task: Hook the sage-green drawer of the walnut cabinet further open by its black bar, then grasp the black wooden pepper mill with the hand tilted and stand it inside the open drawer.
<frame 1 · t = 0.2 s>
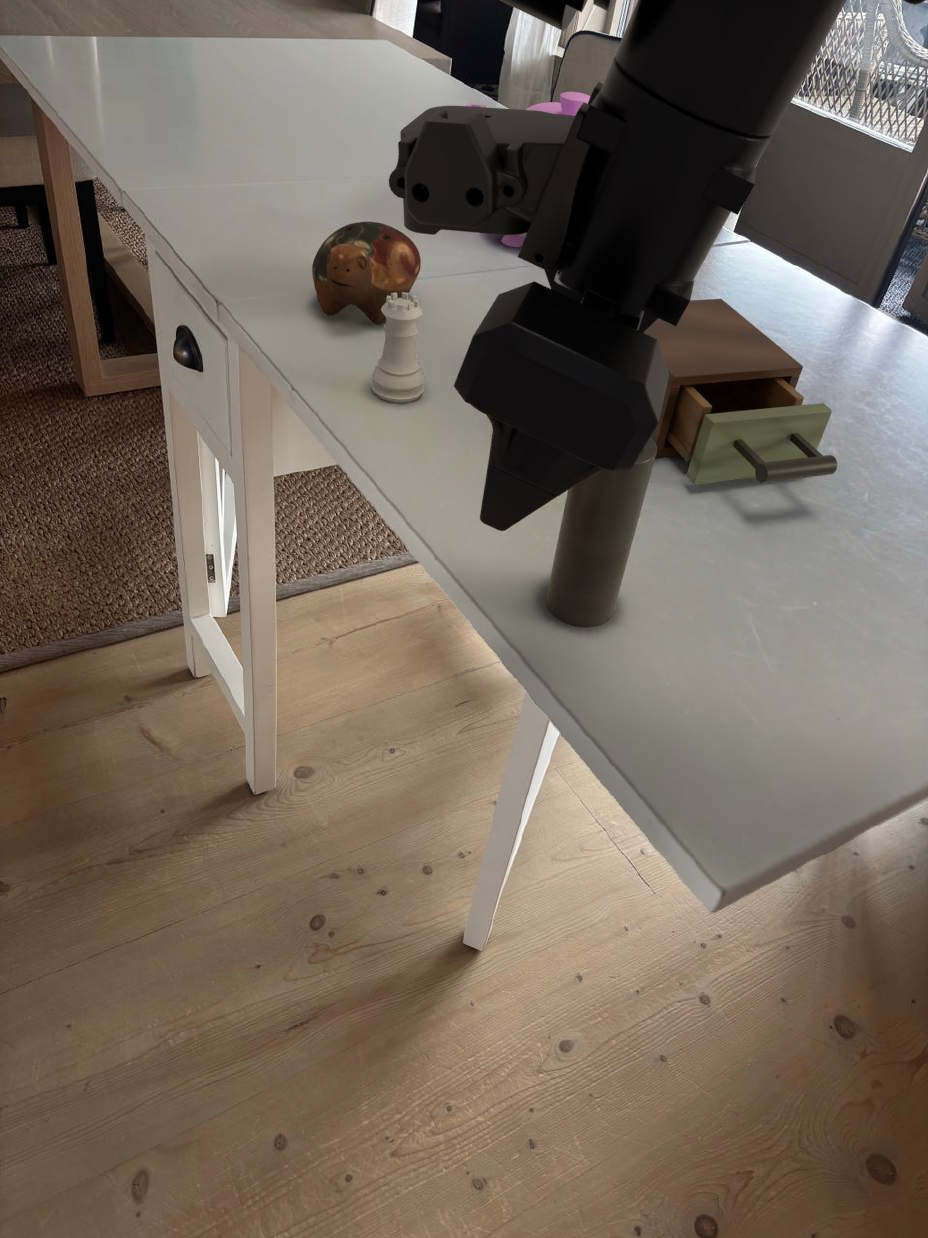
hand: (516, 466, 41), 17 cm above the table, tool pointing down, fingers open, 9 cm apart
teapot: (541, 232, 110), on the table
pepper mill: (579, 603, 60), on the table
drawer: (739, 424, 73), point 4 cm above the table, slide at 4.0 cm
rook chess piece: (397, 393, 79), on the table
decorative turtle: (365, 310, 90), on the table
cabinet: (677, 412, 81), on the table
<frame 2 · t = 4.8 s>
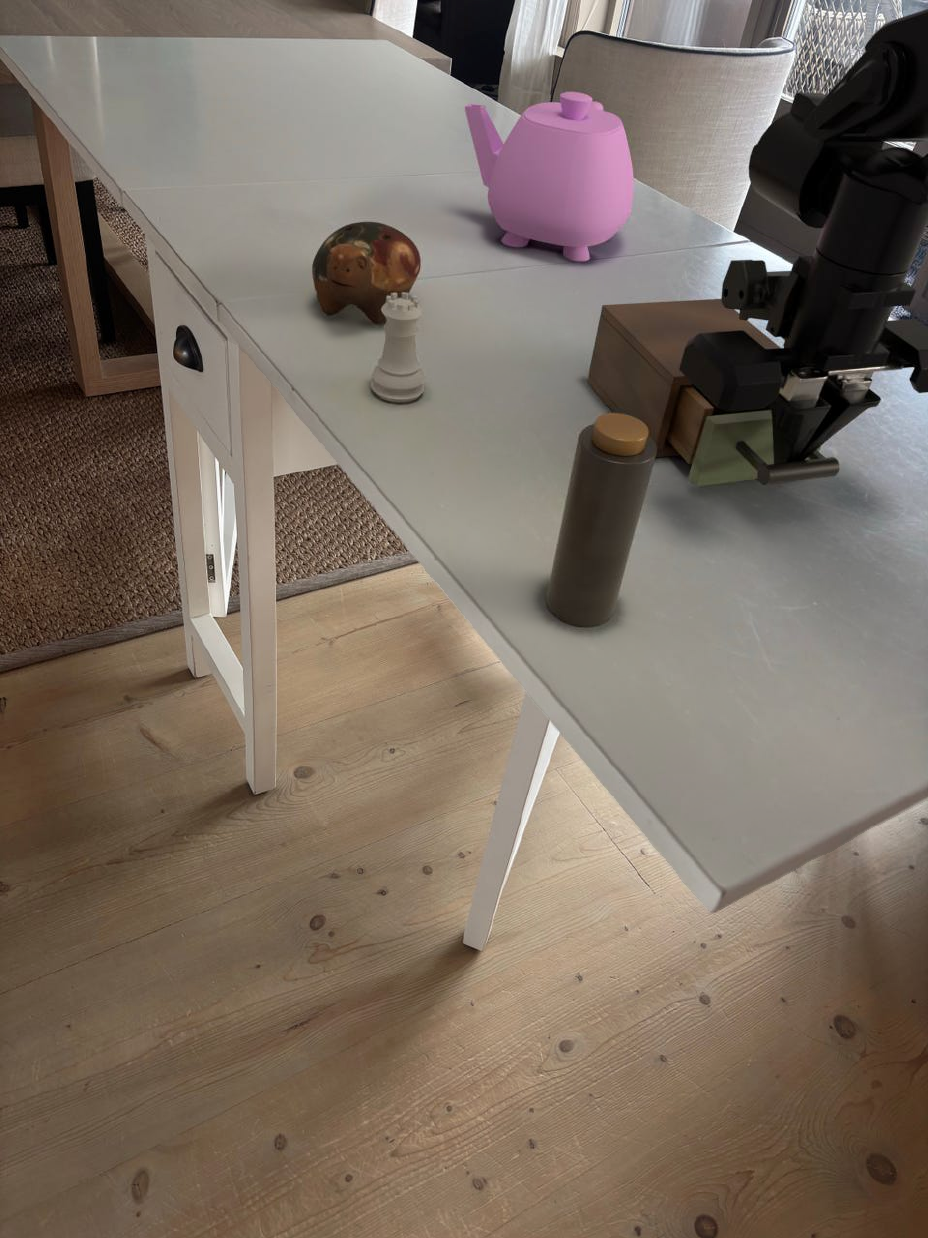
hand: (781, 469, 69), 3 cm above the table, tool pointing down, fingers closed
nothing on the table moved.
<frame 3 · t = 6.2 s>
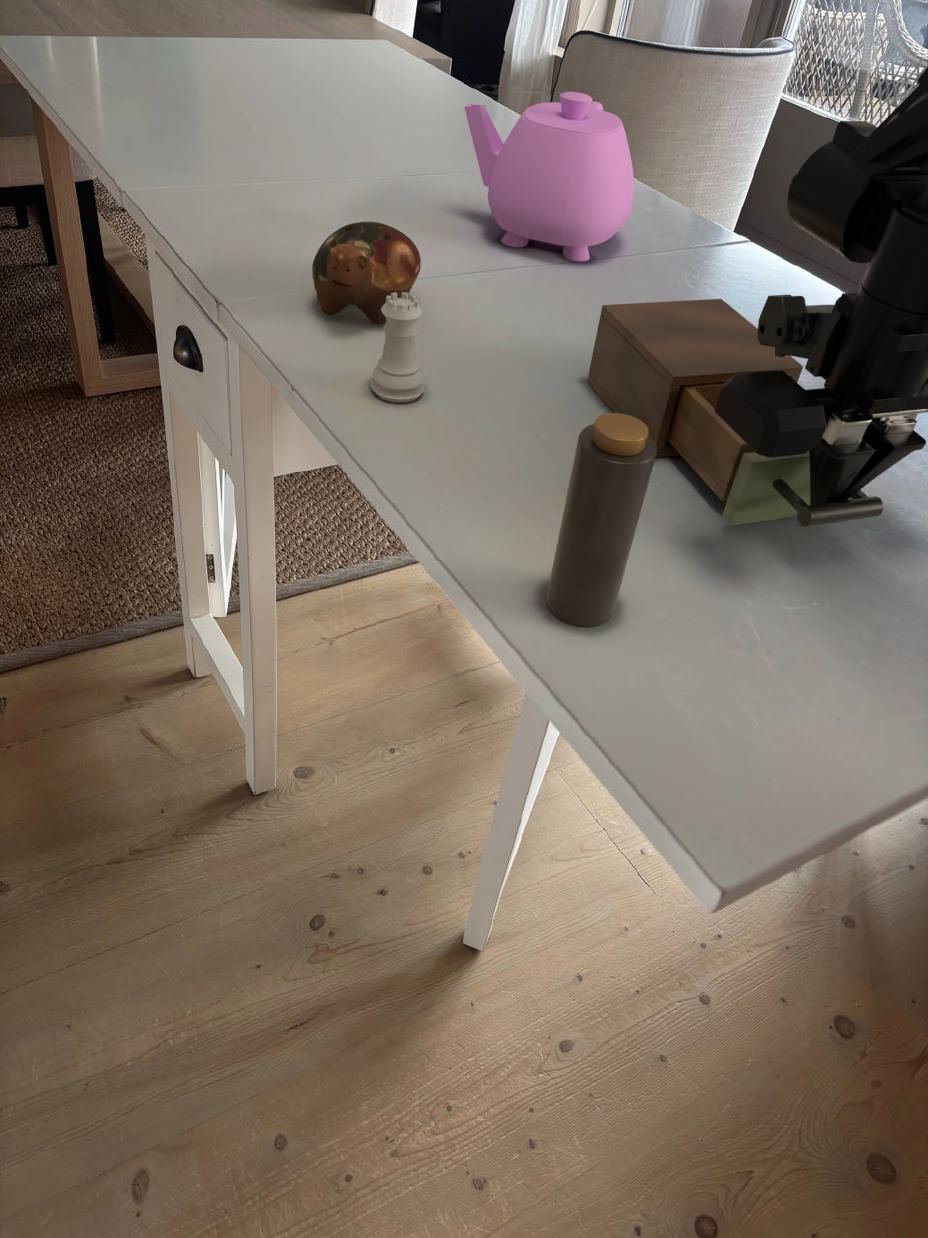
hand: (818, 511, 66), 3 cm above the table, tool pointing down, fingers closed, pressing on drawer
drawer: (776, 461, 69), point 4 cm above the table, slide at 9.3 cm, touching gripper
everything else where it was.
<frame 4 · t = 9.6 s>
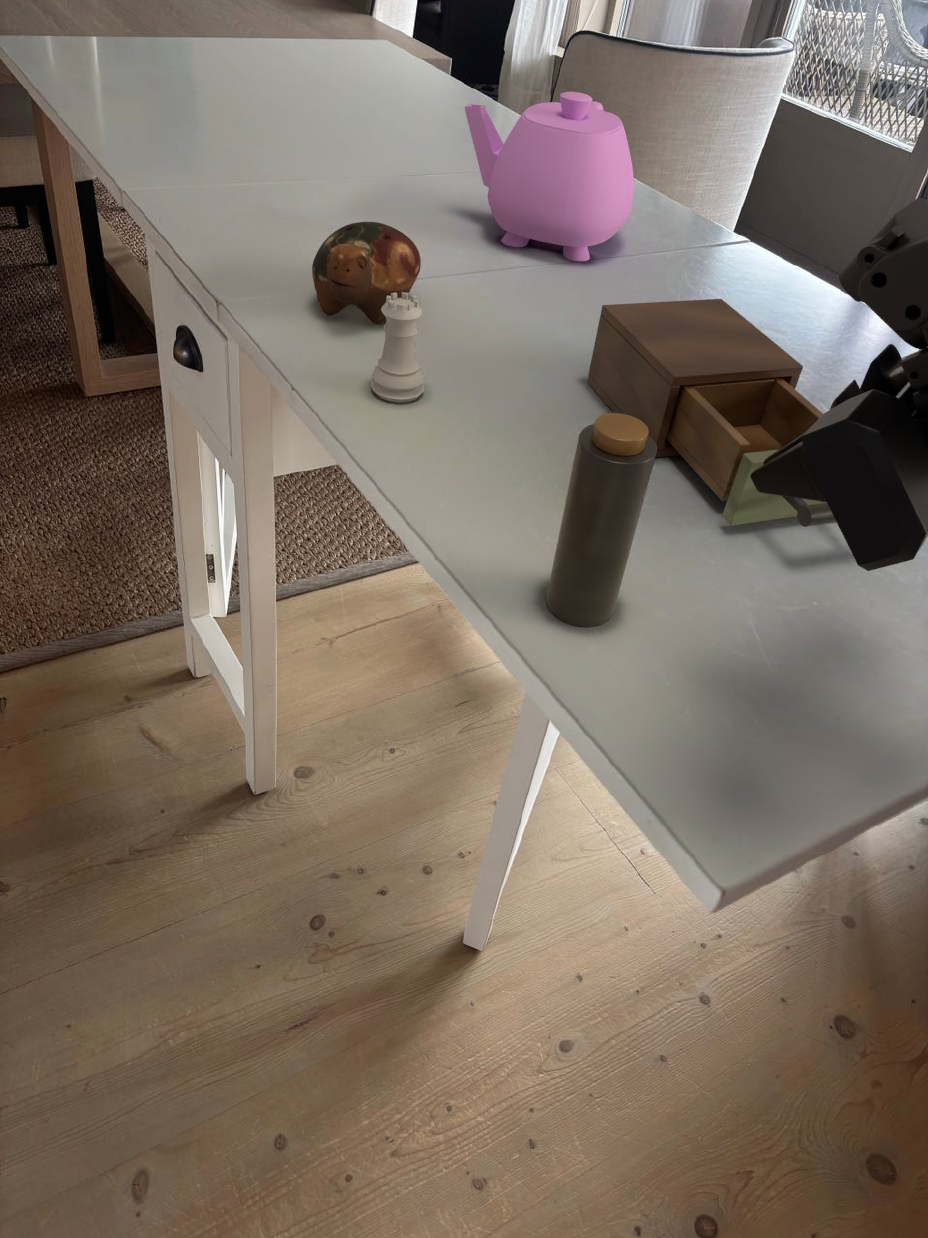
hand: (761, 475, 48), 14 cm above the table, tool tilted 45°, fingers closed
drawer: (776, 461, 69), point 4 cm above the table, slide at 9.3 cm
everything else where it was.
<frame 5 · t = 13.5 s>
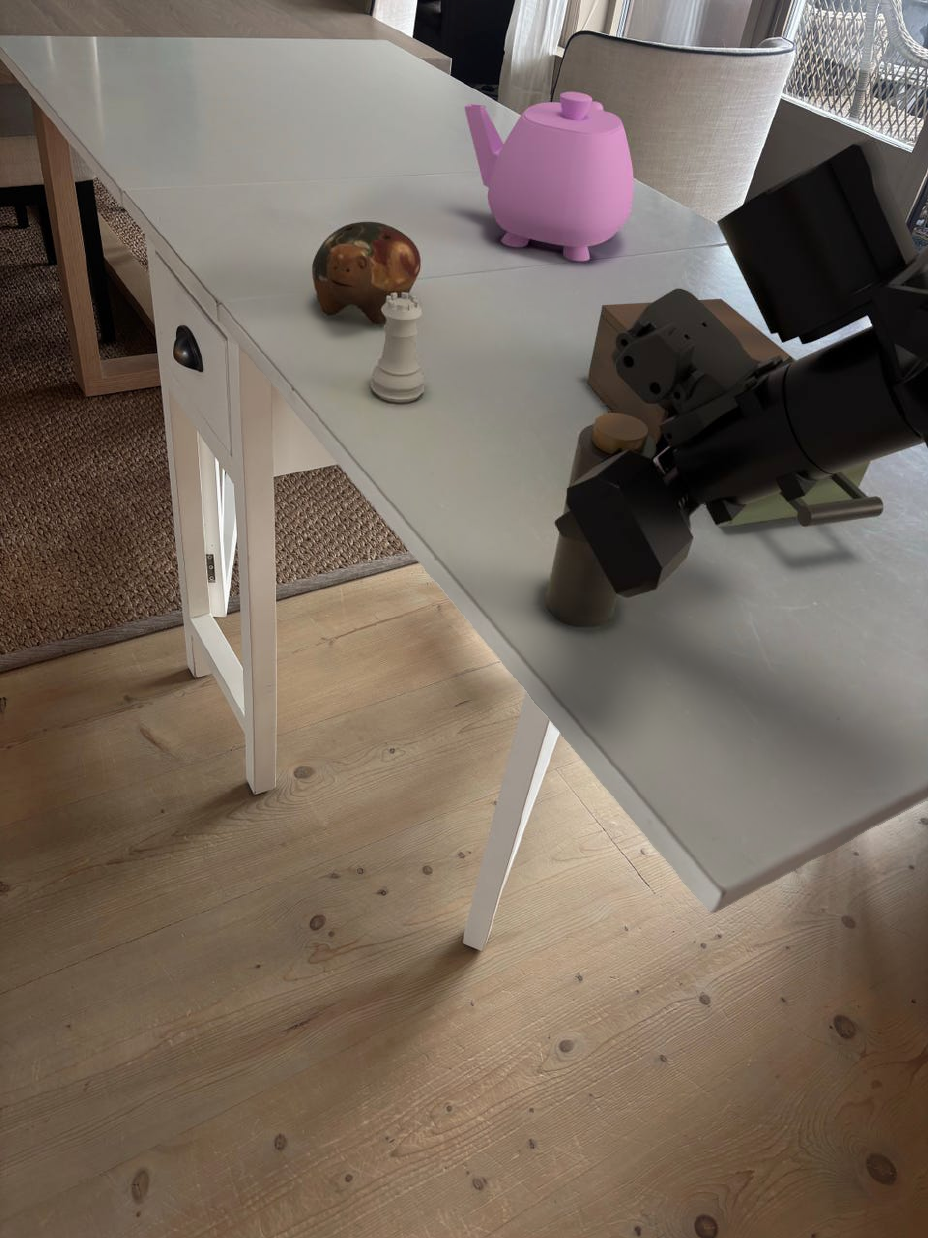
hand: (579, 511, 57), 7 cm above the table, tool tilted 45°, fingers closed on pepper mill, 4 cm apart
pepper mill: (579, 603, 60), on the table, touching gripper
everything else where it was.
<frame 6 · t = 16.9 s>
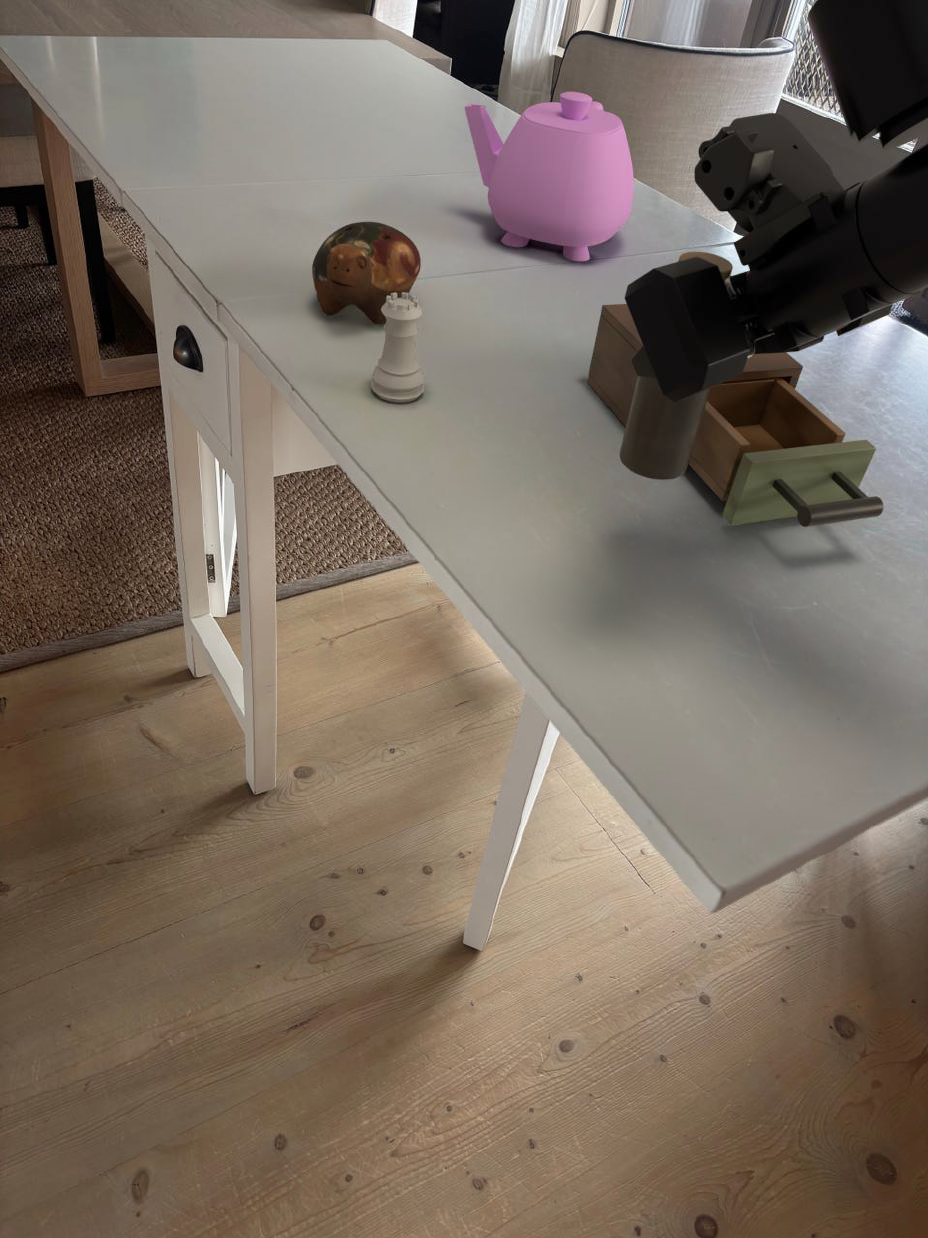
hand: (661, 358, 57), 14 cm above the table, tool tilted 45°, fingers closed on pepper mill, 4 cm apart
pepper mill: (653, 461, 61), point 7 cm above the table, touching gripper
everything else where it was.
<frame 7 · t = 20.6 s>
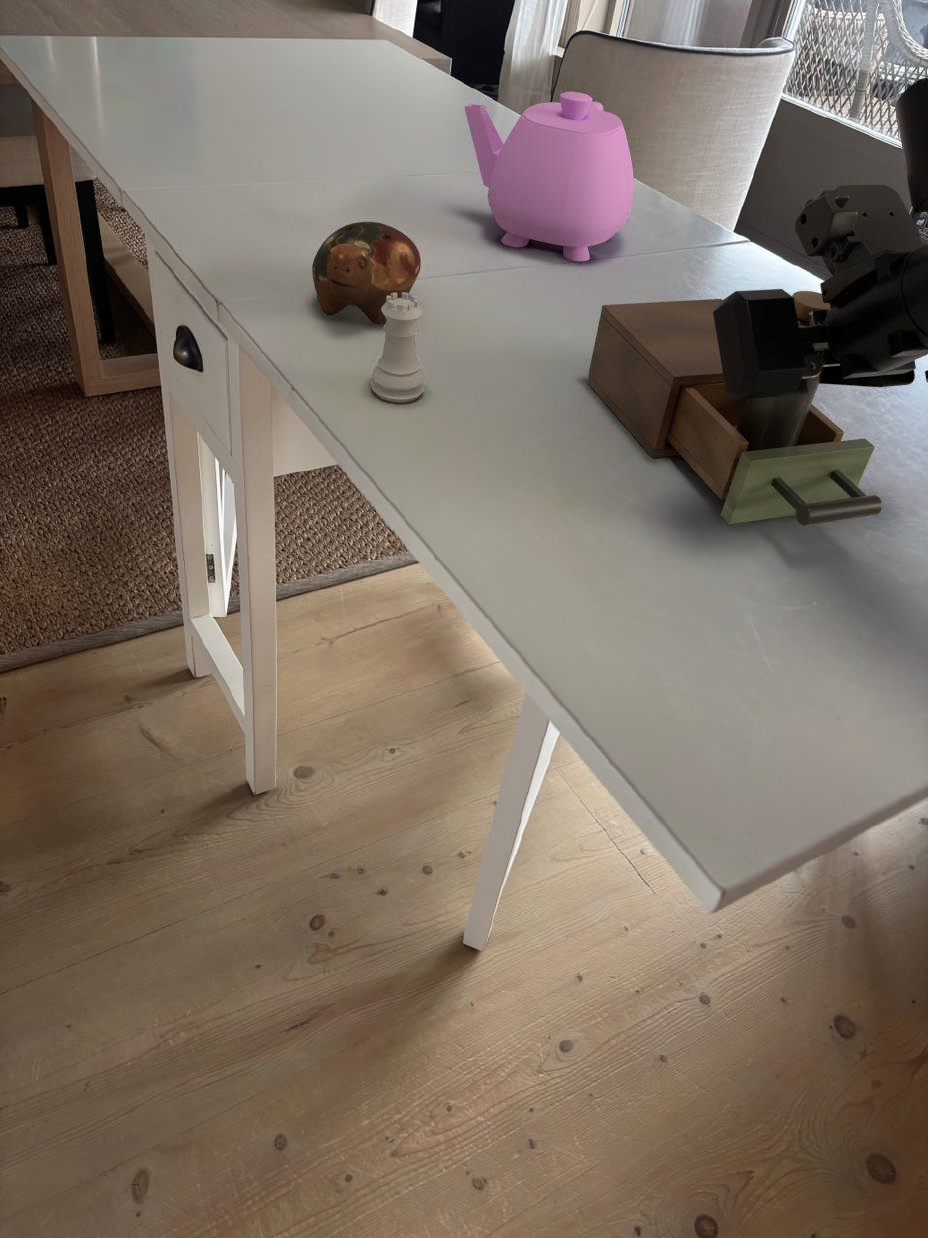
hand: (773, 377, 68), 9 cm above the table, tool tilted 45°, fingers closed on pepper mill, 4 cm apart
pepper mill: (755, 464, 71), point 2 cm above the table, touching drawer, gripper
drawer: (775, 459, 69), point 4 cm above the table, slide at 9.1 cm, touching pepper mill
everything else where it was.
when the fingers open (9 cm above the table, at t = 20.7 s): pepper mill stays where it is, resting on drawer.
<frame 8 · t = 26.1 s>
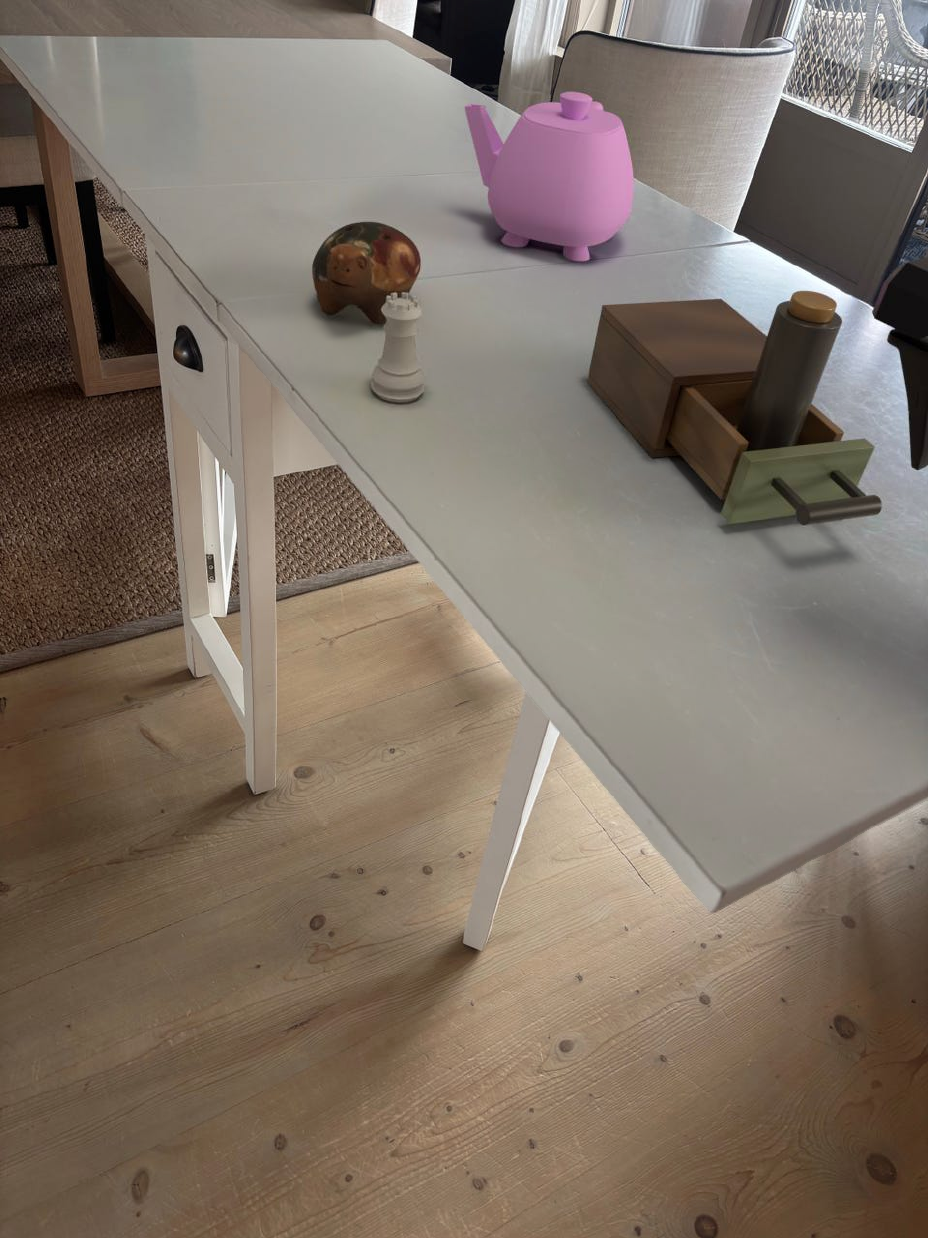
pepper mill: (755, 464, 71), point 2 cm above the table, touching drawer
everything else where it was.
at the end: drawer slide at 9.1 cm; pepper mill inside the target area in the drawer (0.3 cm from its centre), point 2.0 cm above the cabinet's base; pepper mill touching drawer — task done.
